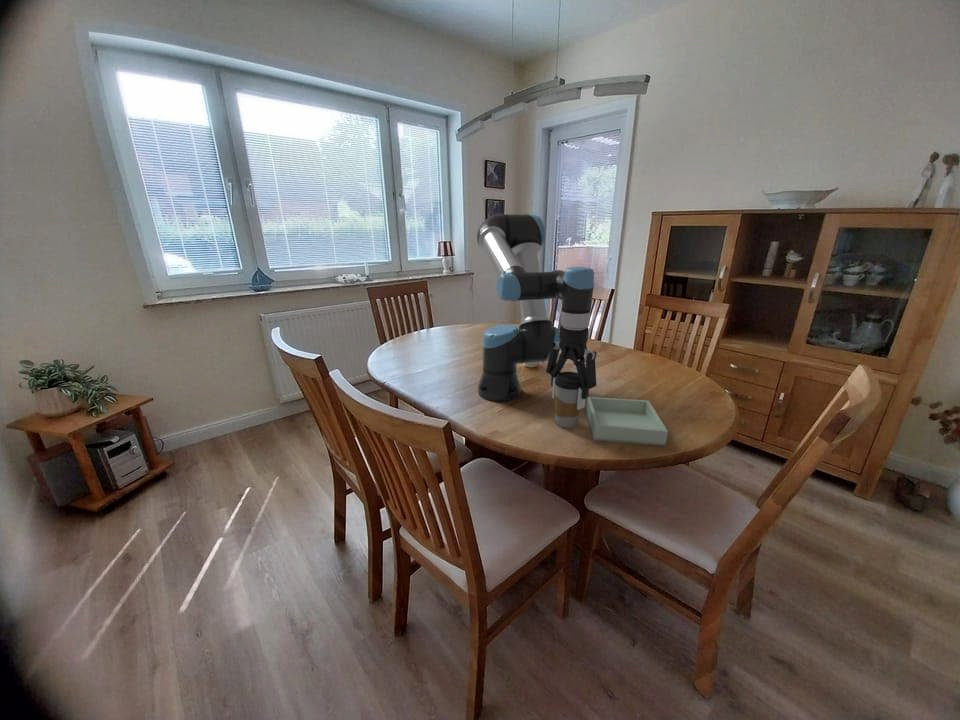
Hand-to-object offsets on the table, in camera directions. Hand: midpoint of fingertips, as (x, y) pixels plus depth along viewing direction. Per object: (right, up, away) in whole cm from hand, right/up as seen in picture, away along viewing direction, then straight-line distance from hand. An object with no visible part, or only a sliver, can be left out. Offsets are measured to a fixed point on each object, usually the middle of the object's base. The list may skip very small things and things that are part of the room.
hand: (567, 402), depth 105 cm
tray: (+16, -7, +1) cm, 18 cm away
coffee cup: (0, -7, +2) cm, 7 cm away
